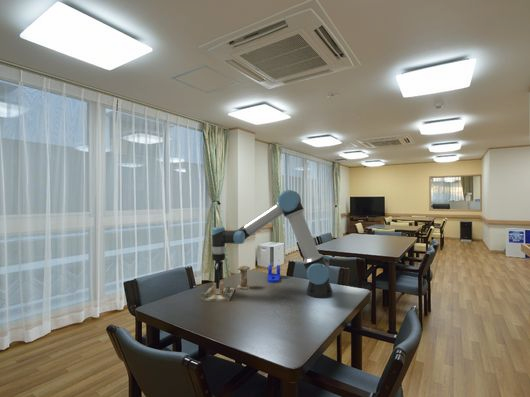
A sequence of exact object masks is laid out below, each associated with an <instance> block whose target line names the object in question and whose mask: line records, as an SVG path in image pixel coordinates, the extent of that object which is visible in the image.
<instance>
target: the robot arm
mask: <svg viewBox="0 0 530 397" xmlns="http://www.w3.org/2000/svg"><path fill="white" fill-rule="evenodd" d="M303 206H304V205H303V203H302V199H301V196H300V194H299V193H298V192H297V191H295V190H292V189H286V190H283V191H282V192H280V193H279V195H278V196H277V201H276V203H275V204H274V205H272V206H271V207H269V208H268V209H266V210H265V211H264V212H262V213H261V214H259V215H258V216H256V217H255V218H254V219H252V220H251V221H249V222H247V223H246V224H243V225H242V226H241V227H240V228H238V229H235V230H226V228H225V227H224V226H223V227H222V226H216V227H213V228H212V231H211V232H212V233H211V239H212V240H211V241H212V243H211V245H212V246H211V249H210V250H212V255H211V256H212V258H211V259H212V261H215V263H214V267H213V268H214V282H213V284H214V283H215V285H216V294H220V281H221V282H223V280H224V273H223V272H224V260H226V244H232V245H233V244H236V245H240V244H244V243H245V240H247V239H248V238H250V237H251V236H252V235H254V234H255V233H257V232H258V231H260V230H262V229H263V228H265V227H266V226H267V225H269V224H270V223H272V222H273V221H275V220H276V219H278V218H279V217H282V215H283V217H284V218H286V219H288V222H289V224H290V227H291V229H292V232H293V234H294V236H295V238H296V241H297V244H298V247H299V250H301V251H300V252H301V254H302V257H303V262H302V263H303V265H304V268H305V271H306V277H307V279H308V280H309V281H308V284H307V288H306V295H307V296H309V297H312V298H317V299H325V298H331V297H332V296H333V289H332V286H331V283H330V257H329V256H328V255H323V254H321V253H319V250H318V248H317V246H316V243H315V240H314V238H313V235H312V233H311V231H310V228H309V226H308V224H307V220H306V219H305V216H304V213H303V212H304V207H303Z"/></svg>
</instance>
